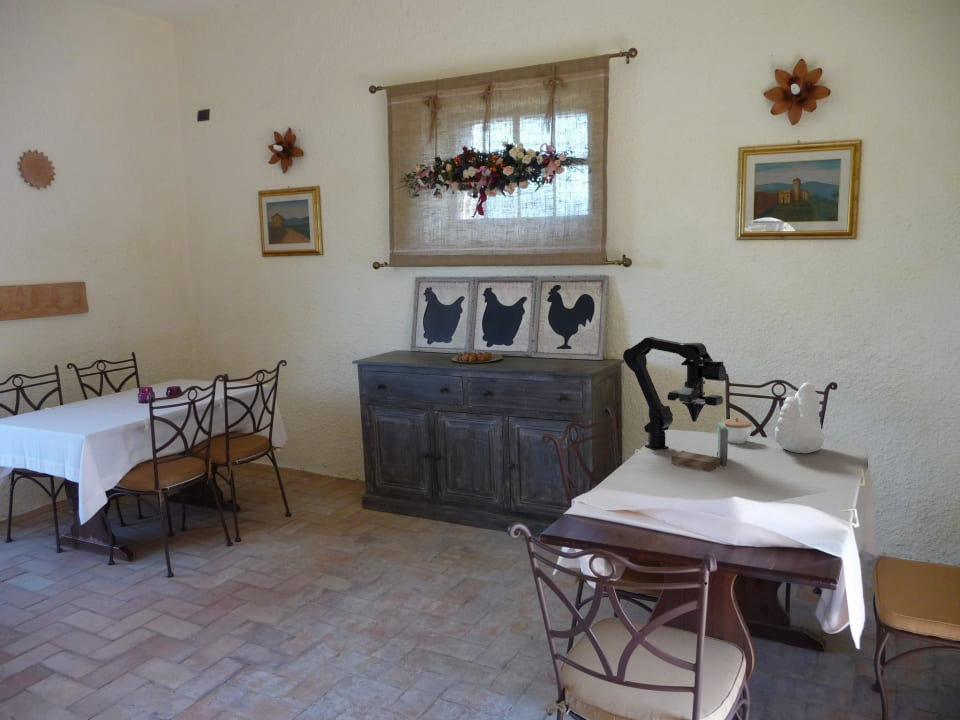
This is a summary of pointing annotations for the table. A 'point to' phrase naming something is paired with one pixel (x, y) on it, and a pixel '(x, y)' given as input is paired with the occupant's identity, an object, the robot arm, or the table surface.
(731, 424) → the lidded jar
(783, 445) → the decorative rooster
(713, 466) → the stool seat
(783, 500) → the table surface
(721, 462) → the green rectangular panel
